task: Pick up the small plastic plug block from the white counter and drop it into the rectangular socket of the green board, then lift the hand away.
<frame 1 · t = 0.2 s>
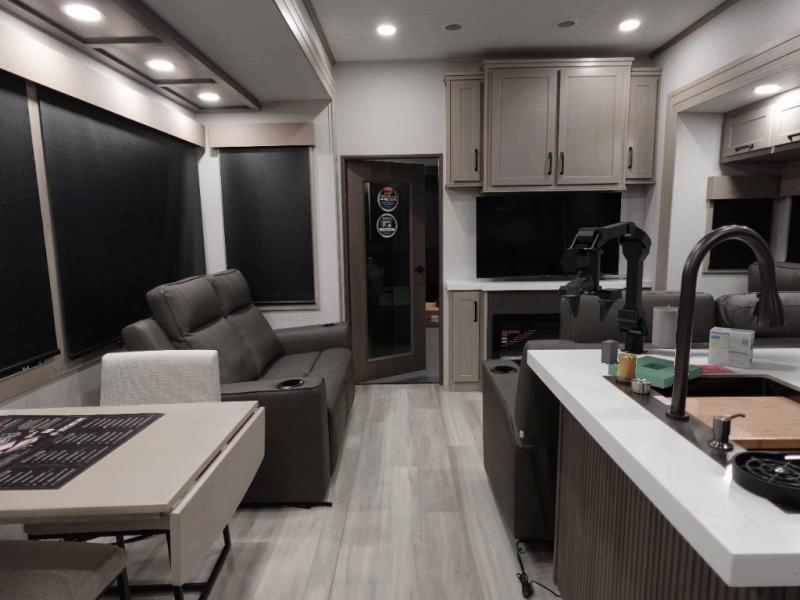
hand: (588, 319, 146), 14 cm above the kitchen island, fingers open, 9 cm apart
light bulb box: (729, 365, 145), on the kitchen island
pillar candle: (666, 346, 170), on the kitchen island
plug block: (609, 363, 149), on the kitchen island
socket board: (654, 374, 136), on the kitchen island
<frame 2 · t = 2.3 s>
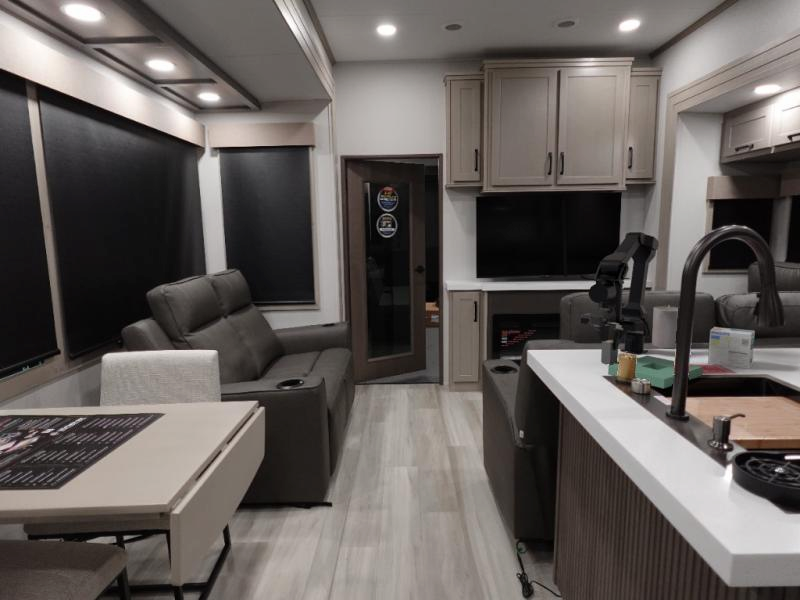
hand: (609, 349, 148), 5 cm above the kitchen island, fingers closed on plug block, 3 cm apart
plug block: (609, 363, 149), on the kitchen island, touching gripper
everything else where it was.
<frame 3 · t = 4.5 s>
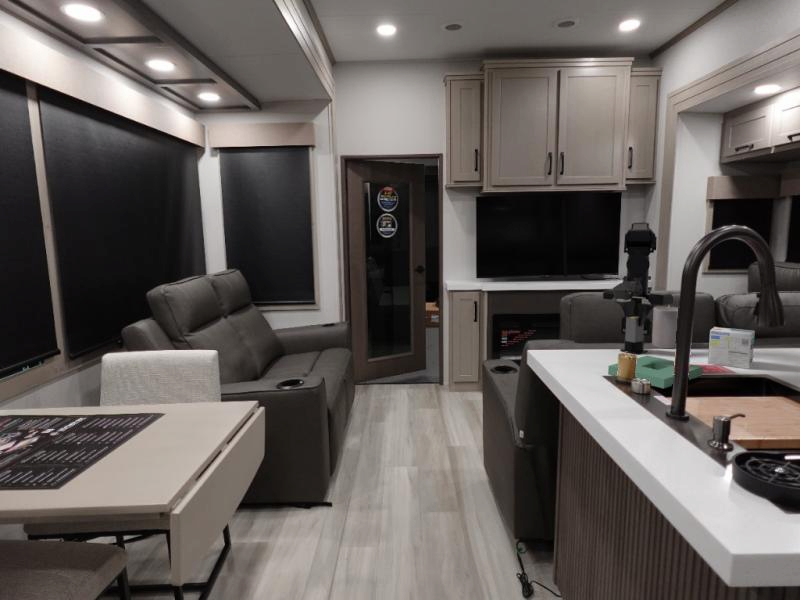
hand: (634, 325, 140), 13 cm above the kitchen island, fingers closed on plug block, 3 cm apart
plug block: (634, 340, 140), point 9 cm above the kitchen island, touching gripper
everything else where it was.
when the fingers open (8 cm above the kitchen island, at t = 6.8 s): plug block drops 4 cm, resting in socket board.
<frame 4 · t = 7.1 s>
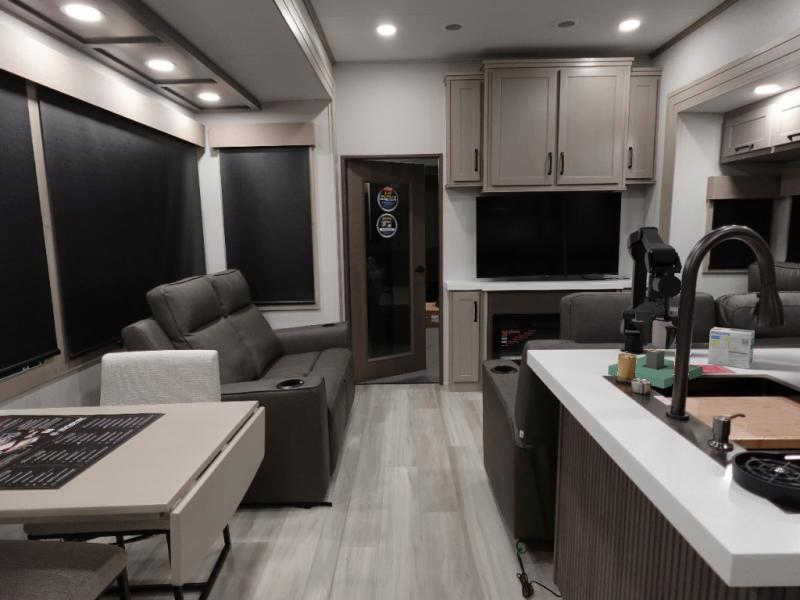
hand: (656, 347, 135), 8 cm above the kitchen island, fingers open, 6 cm apart
plug block: (654, 374, 136), resting in socket board
everything else where it was.
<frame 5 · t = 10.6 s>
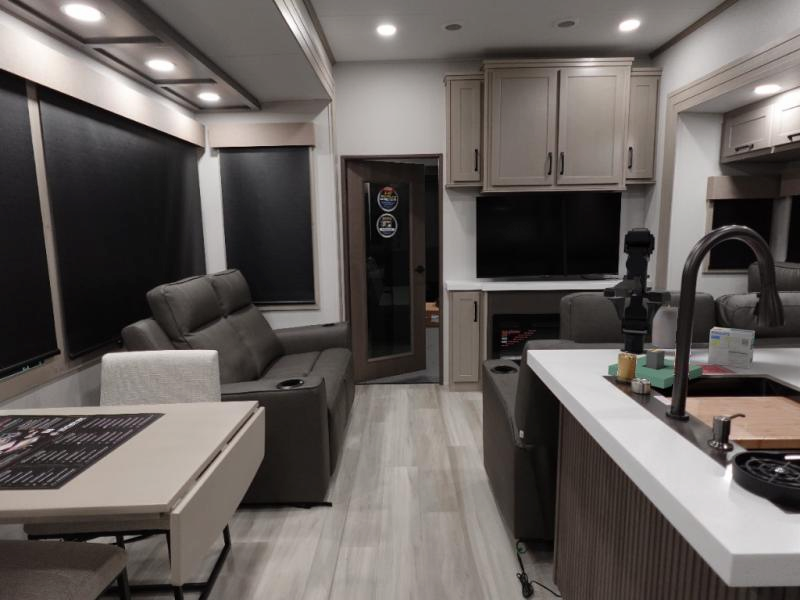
hand: (634, 322, 147), 13 cm above the kitchen island, fingers open, 9 cm apart
nothing on the kitchen island moved.
at the end: plug block 0.1 cm off-centre on the socket board, point 0.0 cm above the socket board's base; plug block tilted 0°; the gripper is holding nothing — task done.
